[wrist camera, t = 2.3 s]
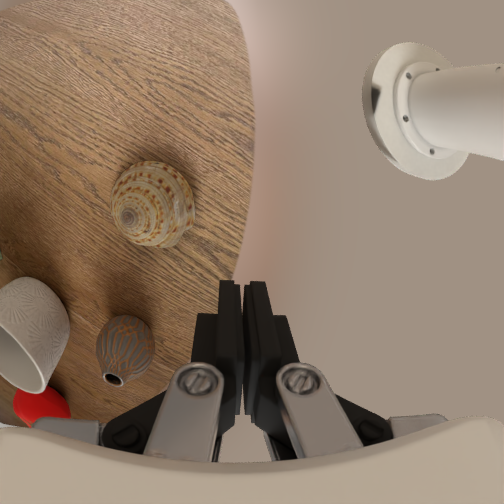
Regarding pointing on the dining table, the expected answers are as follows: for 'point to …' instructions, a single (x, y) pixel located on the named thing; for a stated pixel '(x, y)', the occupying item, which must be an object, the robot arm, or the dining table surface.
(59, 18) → the dining table surface
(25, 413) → the tomato
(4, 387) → the dining table surface
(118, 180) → the seashell
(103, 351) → the vase
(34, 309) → the planter
